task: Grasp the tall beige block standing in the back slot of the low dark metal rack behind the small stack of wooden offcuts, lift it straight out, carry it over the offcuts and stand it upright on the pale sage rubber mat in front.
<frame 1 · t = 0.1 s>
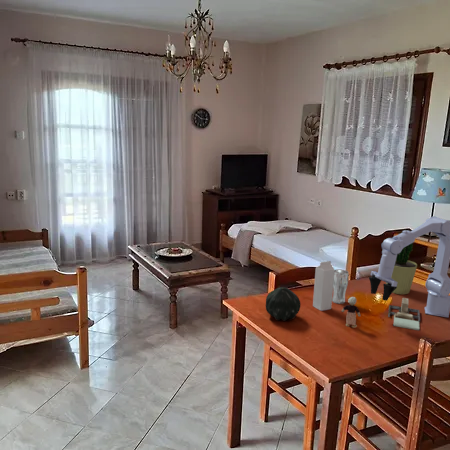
hand: (378, 296, 187), 11 cm above the table, tool pointing down, fingers open, 7 cm apart
squash: (282, 317, 190), on the table
offcut stack: (403, 319, 192), on the table
beer glass: (338, 301, 209), on the table
metal rack: (403, 314, 196), on the table
grandmother figurine: (349, 325, 183), on the table
milk: (321, 307, 201), on the table
sage mat: (406, 324, 186), on the table
potted cactus: (397, 290, 226), on the table
tall beige block: (403, 313, 197), resting in metal rack
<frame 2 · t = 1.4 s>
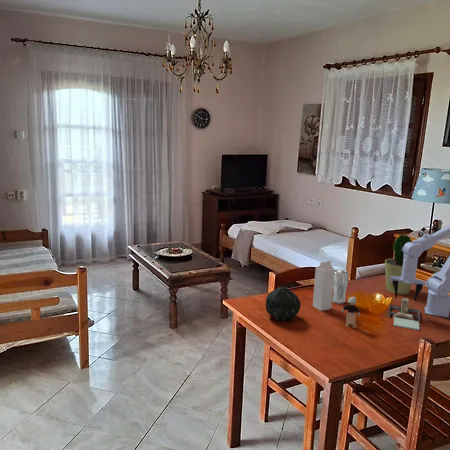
hand: (405, 298, 196), 7 cm above the table, tool pointing down, fingers open, 7 cm apart
nothing on the table moved.
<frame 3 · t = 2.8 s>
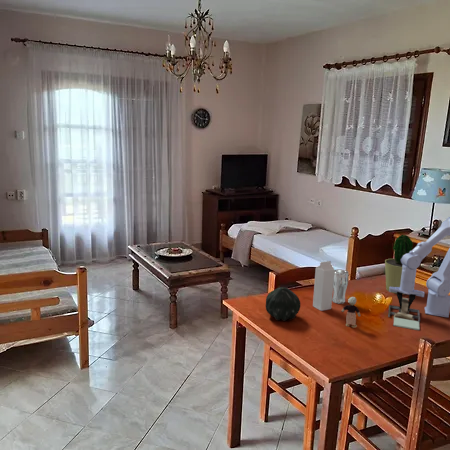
hand: (404, 309, 197), 2 cm above the table, tool pointing down, fingers closed on tall beige block, 2 cm apart
tall beige block: (403, 313, 197), resting in metal rack, touching gripper
everything else where it was.
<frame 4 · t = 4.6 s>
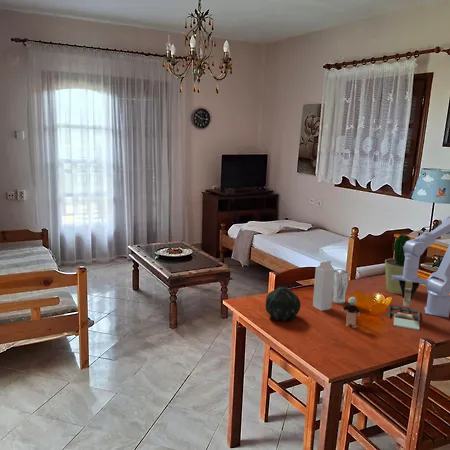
hand: (407, 298, 191), 9 cm above the table, tool pointing down, fingers closed on tall beige block, 2 cm apart
tall beige block: (406, 303, 191), point 7 cm above the table, touching gripper
everything else where it was.
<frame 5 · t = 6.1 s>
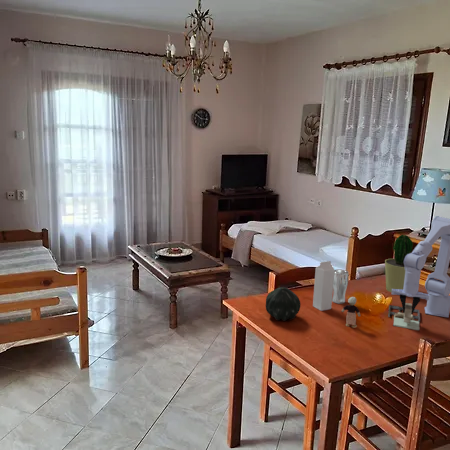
hand: (407, 312, 185), 5 cm above the table, tool pointing down, fingers closed on tall beige block, 2 cm apart
tall beige block: (406, 319, 185), point 2 cm above the table, touching gripper
everything else where it was.
when the fingers open (4 cm above the table, at t = 6.8 s): tall beige block stays where it is, resting on sage mat.
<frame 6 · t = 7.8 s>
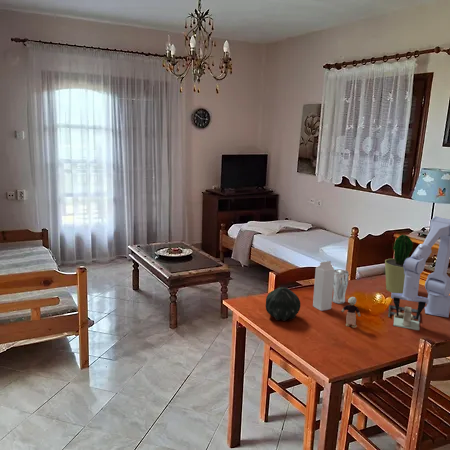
hand: (407, 316, 185), 4 cm above the table, tool pointing down, fingers open, 7 cm apart
tall beige block: (406, 323, 186), point 1 cm above the table, touching sage mat
everything else where it was.
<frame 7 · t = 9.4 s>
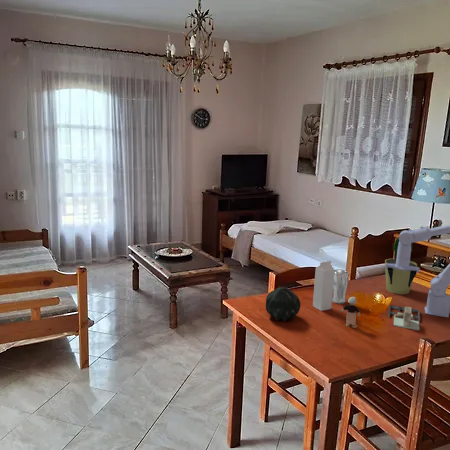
hand: (400, 284, 203), 10 cm above the table, tool pointing down, fingers open, 7 cm apart
nothing on the table moved.
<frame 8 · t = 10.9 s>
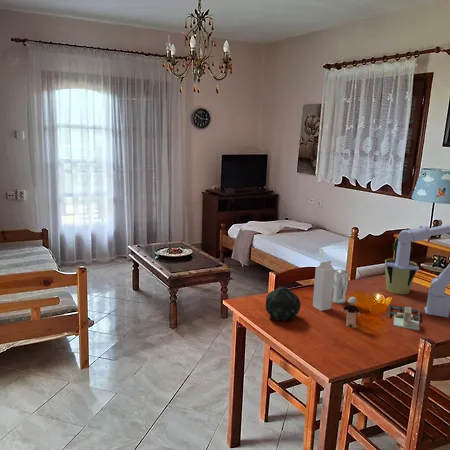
hand: (399, 283, 204), 10 cm above the table, tool pointing down, fingers open, 7 cm apart
nothing on the table moved.
at the end: tall beige block 0.0 cm off-centre on the sage mat, point 0.6 cm above the sage mat's base; tall beige block tilted 0°; the gripper is holding nothing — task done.
